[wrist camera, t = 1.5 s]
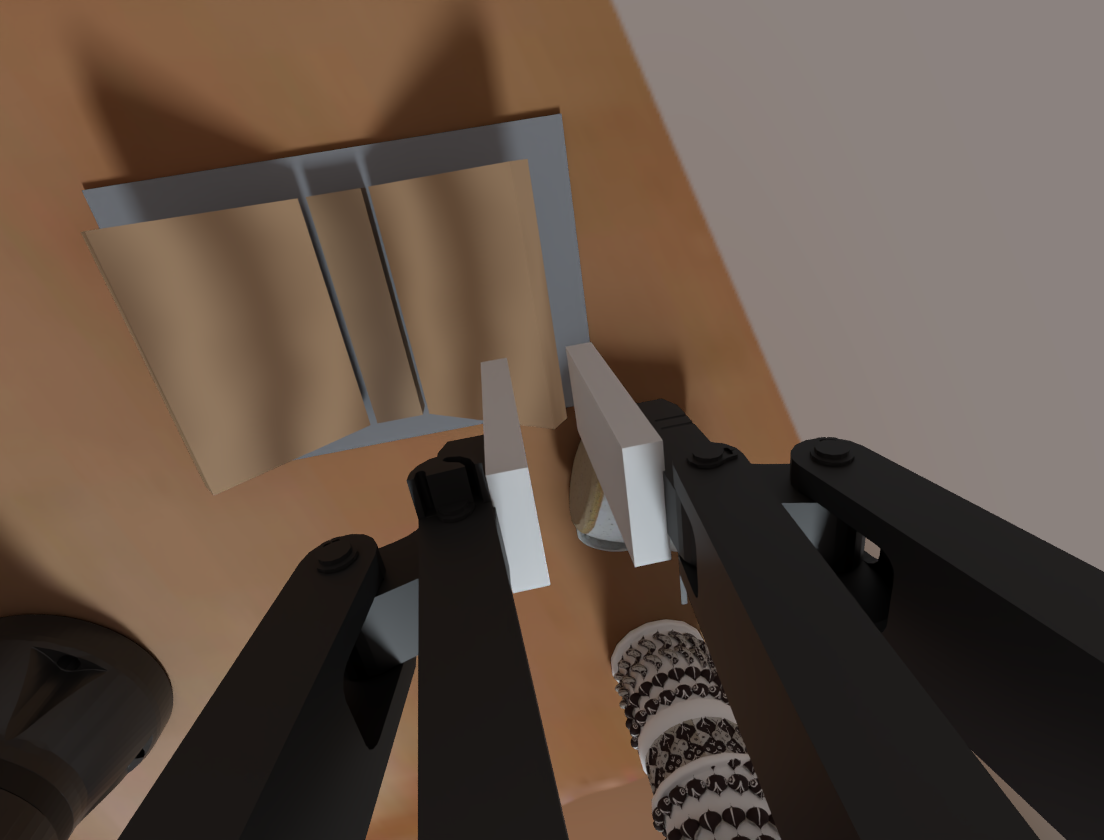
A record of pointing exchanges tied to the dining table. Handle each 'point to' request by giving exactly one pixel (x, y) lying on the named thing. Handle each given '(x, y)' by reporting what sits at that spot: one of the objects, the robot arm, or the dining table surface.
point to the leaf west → (235, 334)
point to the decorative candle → (688, 737)
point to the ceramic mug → (593, 508)
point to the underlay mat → (362, 170)
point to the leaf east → (473, 287)
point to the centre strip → (367, 301)
